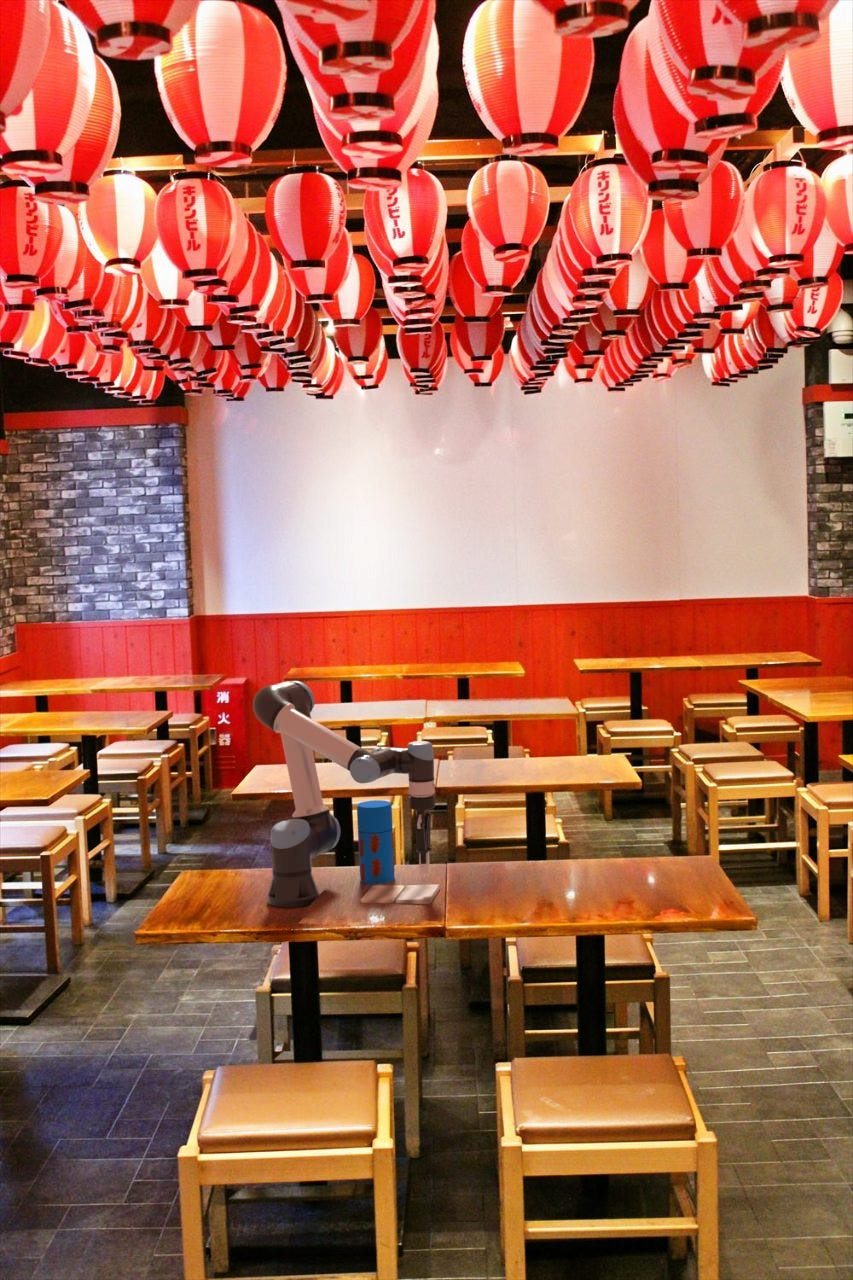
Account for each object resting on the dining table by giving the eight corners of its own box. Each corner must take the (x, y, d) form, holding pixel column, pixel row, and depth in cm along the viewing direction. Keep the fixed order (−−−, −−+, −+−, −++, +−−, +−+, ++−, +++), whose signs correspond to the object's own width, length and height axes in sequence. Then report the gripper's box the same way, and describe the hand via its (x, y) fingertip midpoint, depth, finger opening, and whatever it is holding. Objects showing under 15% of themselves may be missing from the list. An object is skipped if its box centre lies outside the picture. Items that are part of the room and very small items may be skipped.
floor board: (360, 907, 347) (360, 900, 347) (373, 891, 363) (373, 884, 362) (431, 908, 343) (430, 901, 343) (441, 892, 358) (441, 885, 358)
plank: (396, 906, 345) (395, 900, 345) (407, 891, 360) (407, 885, 360) (430, 905, 343) (429, 899, 343) (439, 890, 358) (439, 884, 358)
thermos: (394, 887, 366) (390, 807, 364) (359, 888, 366) (355, 808, 364) (395, 877, 377) (392, 799, 375) (361, 878, 377) (358, 800, 375)
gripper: (430, 799, 342) (433, 880, 343) (438, 790, 354) (441, 867, 356) (404, 799, 343) (407, 879, 345) (414, 789, 356) (416, 867, 358)
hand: (424, 873), depth 351 cm, fingers closed
